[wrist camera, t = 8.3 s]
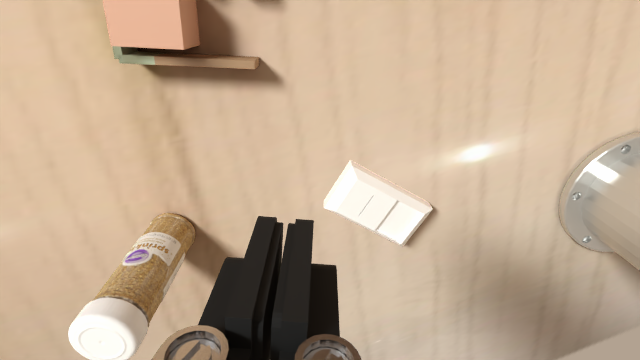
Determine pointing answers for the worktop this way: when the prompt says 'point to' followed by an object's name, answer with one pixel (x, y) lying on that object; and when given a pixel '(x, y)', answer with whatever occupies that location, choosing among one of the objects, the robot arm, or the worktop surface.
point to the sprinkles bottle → (133, 292)
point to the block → (152, 23)
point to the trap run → (183, 59)
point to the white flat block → (376, 204)
